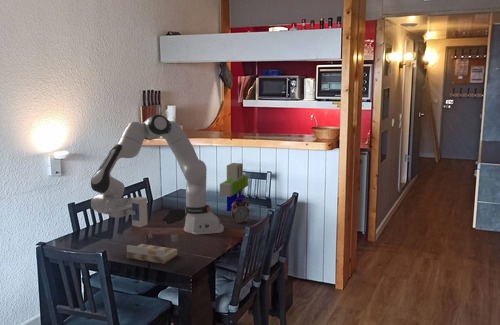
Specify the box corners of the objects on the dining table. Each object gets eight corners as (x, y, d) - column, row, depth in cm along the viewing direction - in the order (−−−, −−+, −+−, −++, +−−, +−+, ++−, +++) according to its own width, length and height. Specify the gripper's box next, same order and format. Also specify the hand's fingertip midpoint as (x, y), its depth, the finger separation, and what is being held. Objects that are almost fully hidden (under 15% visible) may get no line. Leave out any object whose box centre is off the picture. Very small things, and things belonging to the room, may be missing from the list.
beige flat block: (177, 255, 227) (176, 243, 226) (163, 264, 216) (163, 251, 215) (141, 249, 234) (141, 238, 233) (126, 258, 223) (126, 246, 222)
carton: (139, 223, 228) (138, 196, 226) (147, 224, 225) (146, 197, 223) (131, 225, 223) (131, 198, 221) (139, 227, 221) (139, 200, 219)
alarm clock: (233, 225, 276) (233, 199, 273) (229, 222, 280) (229, 198, 277) (250, 222, 280) (250, 198, 278) (246, 220, 284) (246, 196, 282)
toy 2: (230, 217, 291) (230, 169, 286) (220, 216, 294) (219, 168, 289) (248, 204, 323) (248, 160, 318) (238, 203, 325) (238, 160, 320)
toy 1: (189, 210, 307) (177, 223, 278) (189, 210, 307) (177, 224, 278) (170, 209, 308) (157, 222, 279) (170, 210, 309) (157, 223, 279)
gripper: (102, 205, 220) (124, 209, 213) (133, 196, 238) (154, 199, 231) (103, 218, 221) (125, 223, 214) (133, 208, 239) (155, 212, 232)
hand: (140, 211), depth 223 cm, fingers closed on carton, 5 cm apart
